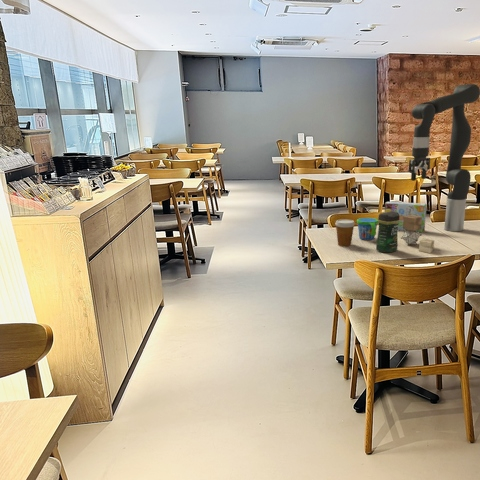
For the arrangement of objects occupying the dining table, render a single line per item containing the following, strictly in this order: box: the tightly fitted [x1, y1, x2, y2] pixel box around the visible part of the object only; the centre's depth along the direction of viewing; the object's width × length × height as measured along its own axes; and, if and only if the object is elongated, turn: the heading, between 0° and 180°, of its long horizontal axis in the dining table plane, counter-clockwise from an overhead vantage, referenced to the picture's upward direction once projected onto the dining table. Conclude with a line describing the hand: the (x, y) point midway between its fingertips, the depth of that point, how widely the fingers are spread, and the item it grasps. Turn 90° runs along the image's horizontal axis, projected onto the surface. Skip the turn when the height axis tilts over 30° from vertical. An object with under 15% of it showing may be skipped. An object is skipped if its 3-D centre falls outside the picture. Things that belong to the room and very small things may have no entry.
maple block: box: [418, 238, 435, 254], centre depth 201 cm, size 5×5×5 cm
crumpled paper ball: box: [400, 229, 422, 247], centre depth 212 cm, size 9×8×10 cm
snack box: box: [383, 201, 428, 233], centre depth 240 cm, size 21×6×15 cm, turn 58°
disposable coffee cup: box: [334, 218, 356, 247], centre depth 215 cm, size 10×10×12 cm
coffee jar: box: [375, 211, 399, 254], centre depth 202 cm, size 10×8×19 cm
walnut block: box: [403, 215, 422, 231], centre depth 210 cm, size 6×6×6 cm
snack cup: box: [356, 217, 379, 241], centre depth 225 cm, size 16×10×10 cm
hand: (418, 179), depth 216 cm, fingers open, 8 cm apart
